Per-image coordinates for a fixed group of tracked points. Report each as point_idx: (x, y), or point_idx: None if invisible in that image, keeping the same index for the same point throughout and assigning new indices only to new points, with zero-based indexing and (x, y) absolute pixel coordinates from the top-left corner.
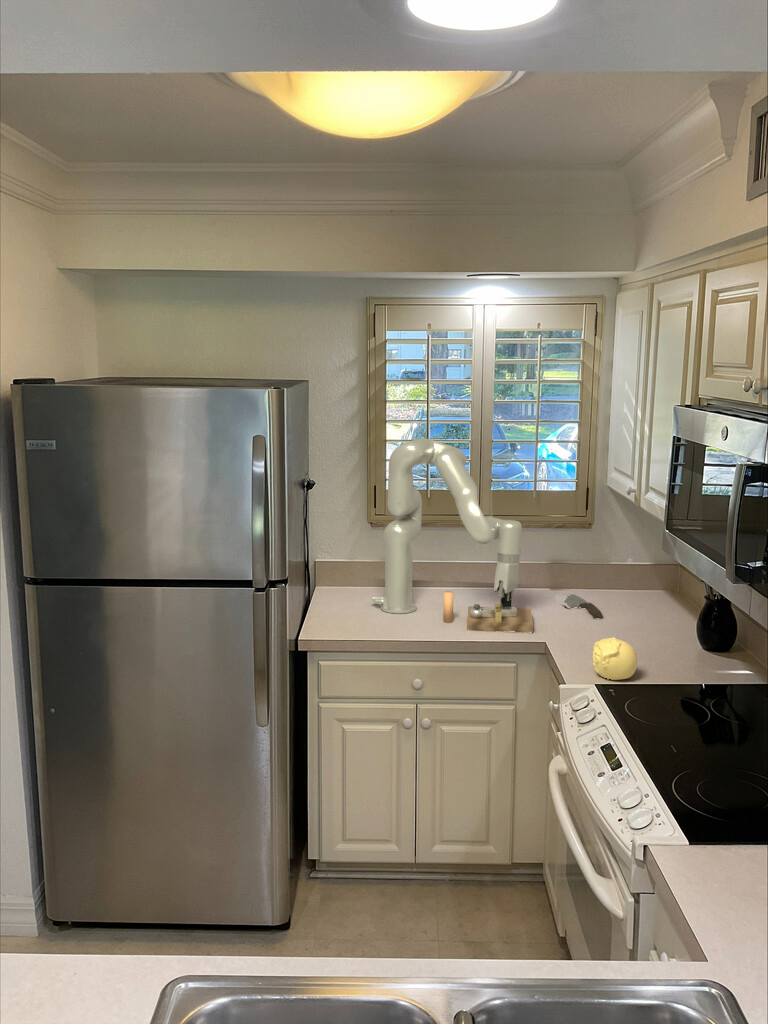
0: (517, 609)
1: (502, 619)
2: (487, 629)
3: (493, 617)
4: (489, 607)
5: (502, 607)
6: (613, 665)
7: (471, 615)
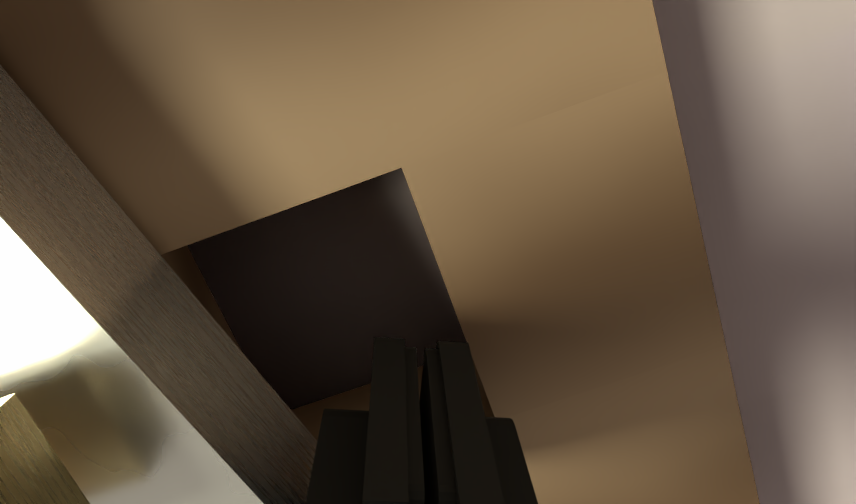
0: (679, 491)
1: None
2: None
3: None
4: (5, 240)
5: (203, 493)
6: None
7: None
